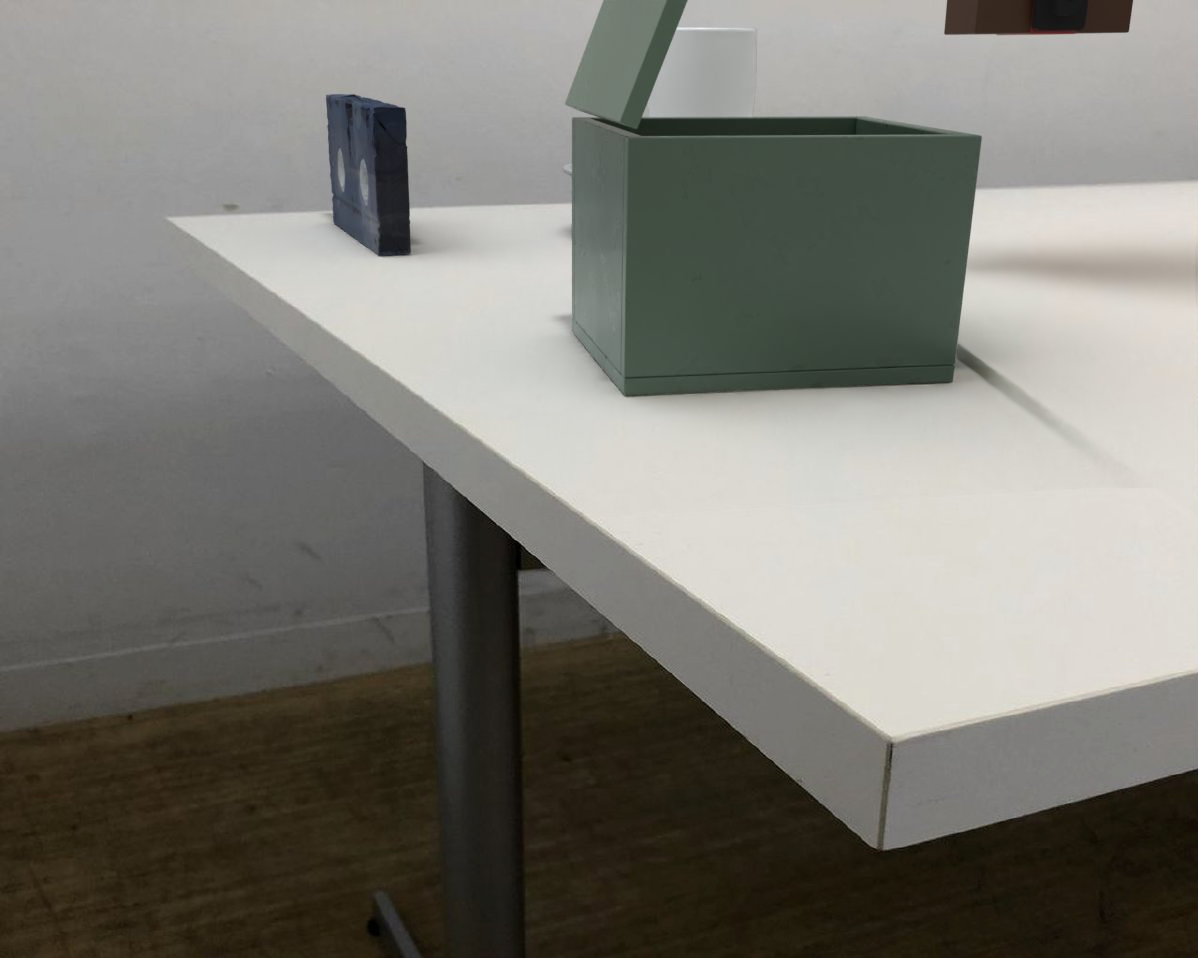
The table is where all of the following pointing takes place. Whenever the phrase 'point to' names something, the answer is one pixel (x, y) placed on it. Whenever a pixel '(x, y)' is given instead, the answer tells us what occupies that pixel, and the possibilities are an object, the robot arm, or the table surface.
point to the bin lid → (624, 58)
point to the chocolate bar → (1029, 17)
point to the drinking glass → (707, 74)
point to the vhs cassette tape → (369, 171)
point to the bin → (769, 251)
